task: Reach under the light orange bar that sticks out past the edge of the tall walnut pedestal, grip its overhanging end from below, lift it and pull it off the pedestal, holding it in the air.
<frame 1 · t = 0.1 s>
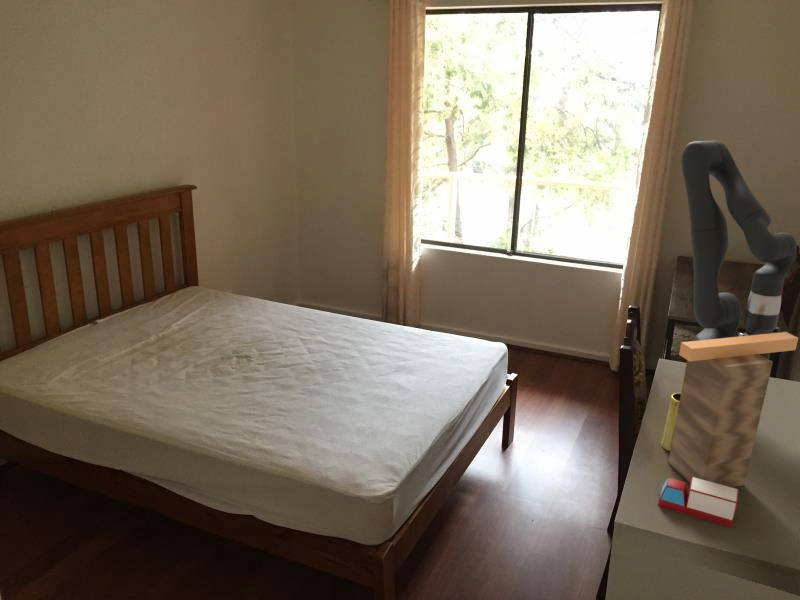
hand: (752, 366, 176), 17 cm above the table, tool pointing down, fingers open, 8 cm apart
pedestal: (705, 473, 159), on the table
vase: (673, 447, 170), on the table
toy truck: (695, 511, 147), on the table
light orange bar: (737, 352, 149), point 32 cm above the table, touching pedestal
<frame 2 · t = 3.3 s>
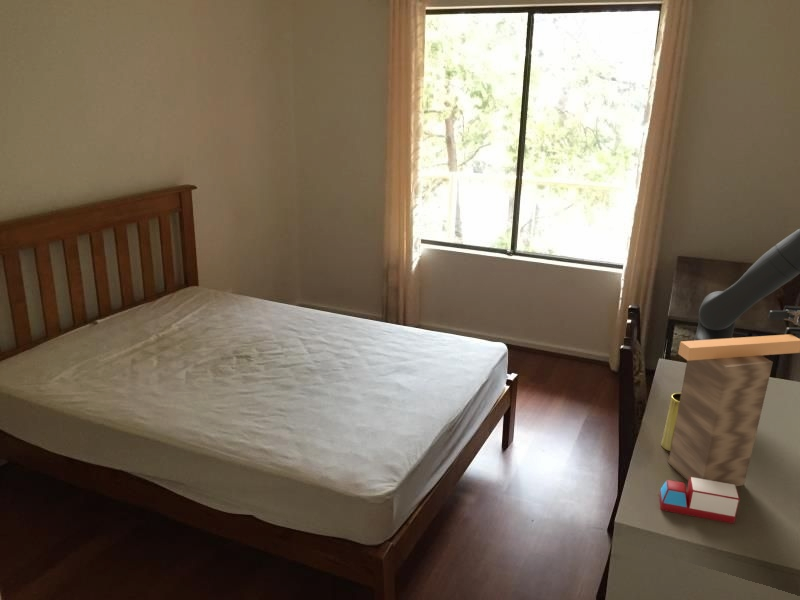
hand: (777, 323, 156), 36 cm above the table, tool horizontal, fingers open, 8 cm apart
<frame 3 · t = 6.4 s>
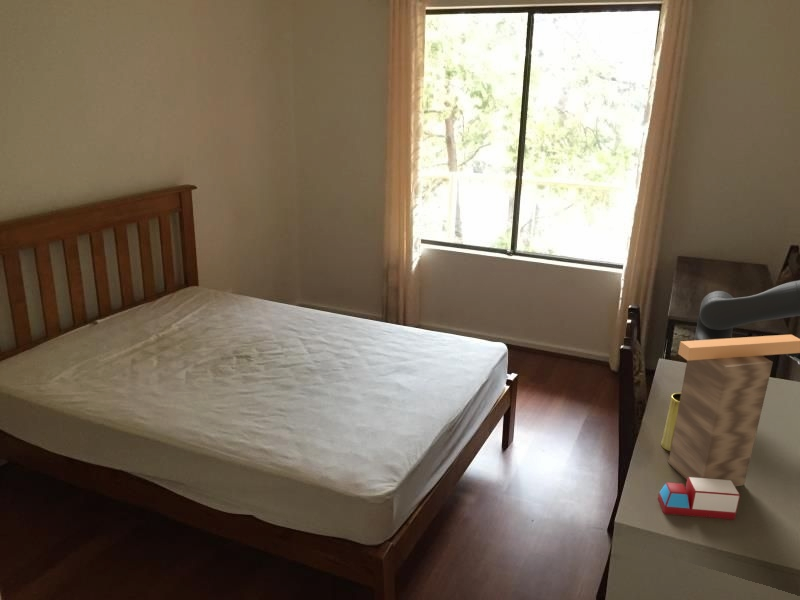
hand: (799, 354, 154), 30 cm above the table, tool pointing upward, fingers open, 8 cm apart
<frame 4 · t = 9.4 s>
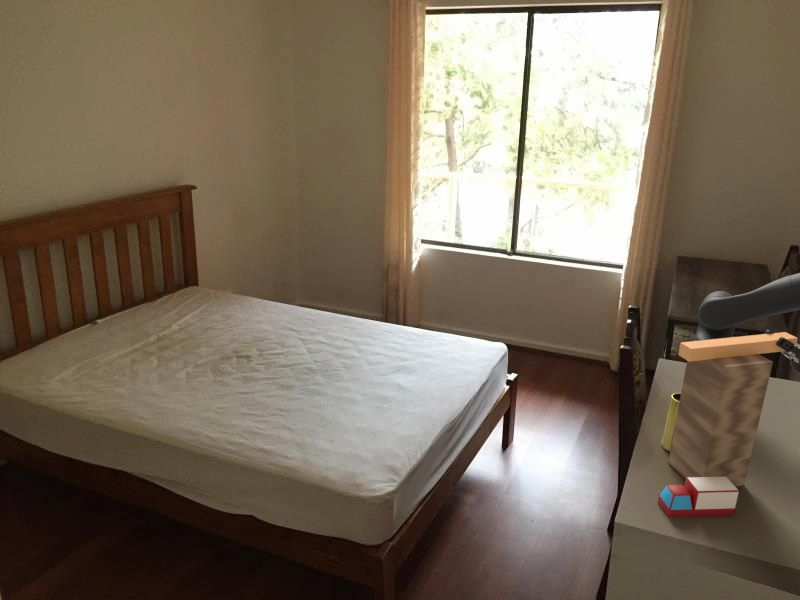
hand: (772, 337, 150), 35 cm above the table, tool pointing upward, fingers closed on light orange bar, 3 cm apart
light orange bar: (737, 352, 149), point 32 cm above the table, touching gripper, pedestal
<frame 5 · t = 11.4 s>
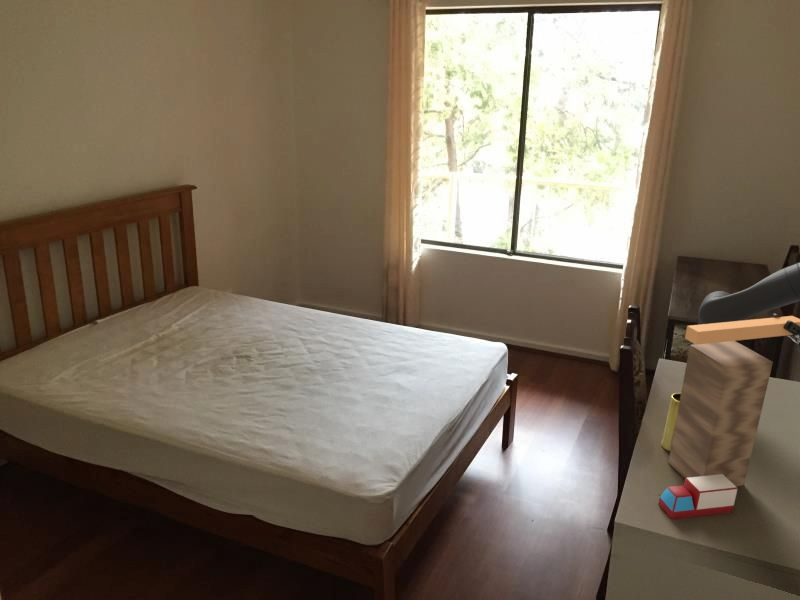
hand: (779, 320, 149), 39 cm above the table, tool pointing upward, fingers closed on light orange bar, 3 cm apart
light orange bar: (744, 336, 148), point 36 cm above the table, touching gripper
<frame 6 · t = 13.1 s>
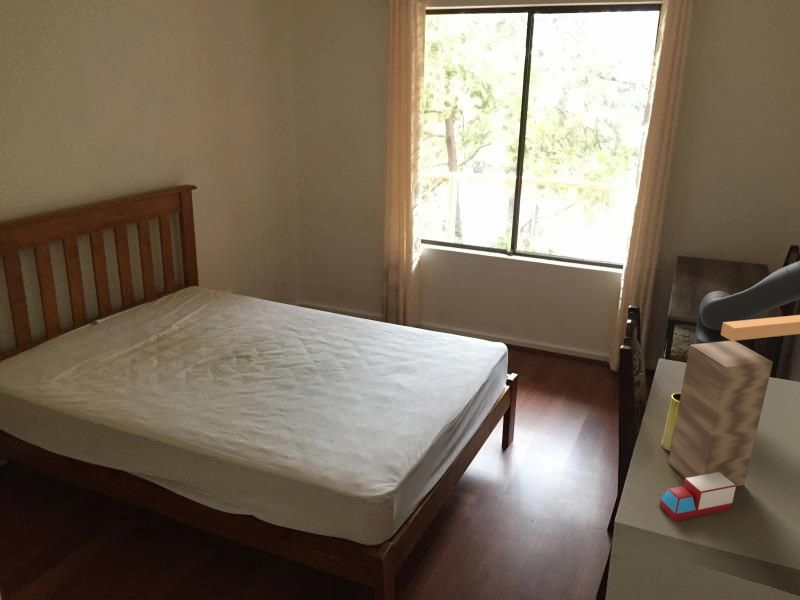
light orange bar: (778, 332, 150), point 36 cm above the table, touching gripper
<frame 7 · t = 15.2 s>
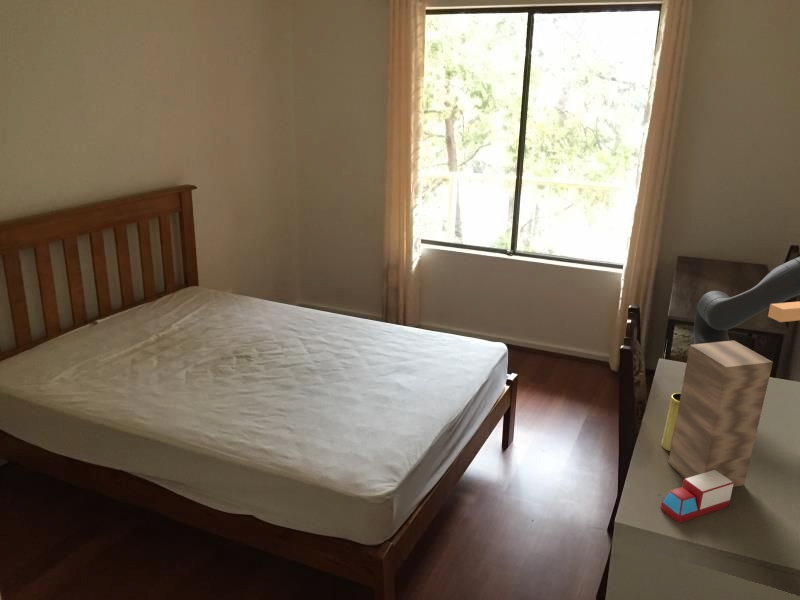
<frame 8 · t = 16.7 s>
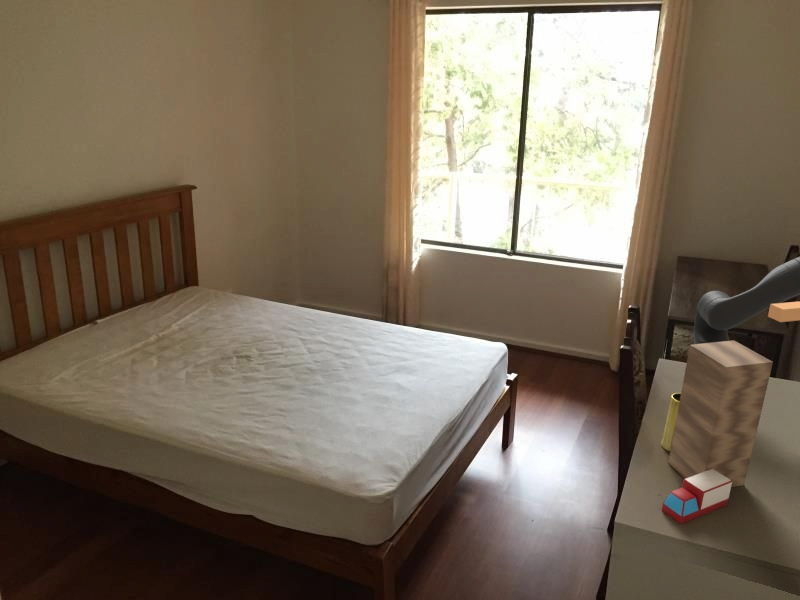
at the end: the gripper is holding light orange bar; light orange bar touching gripper; light orange bar moved 23.0 cm from its start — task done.
